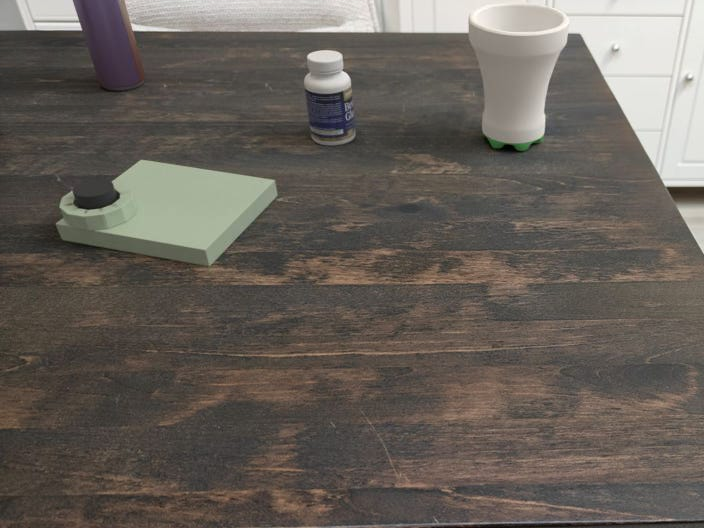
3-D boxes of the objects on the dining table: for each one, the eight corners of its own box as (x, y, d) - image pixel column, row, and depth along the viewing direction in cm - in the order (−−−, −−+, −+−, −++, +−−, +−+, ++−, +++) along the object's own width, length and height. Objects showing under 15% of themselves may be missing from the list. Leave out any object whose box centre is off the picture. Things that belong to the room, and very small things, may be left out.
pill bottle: (357, 145, 89) (349, 63, 82) (311, 148, 88) (299, 65, 82) (355, 126, 93) (347, 46, 86) (311, 129, 92) (300, 48, 86)
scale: (58, 241, 72) (44, 209, 70) (144, 174, 83) (134, 145, 80) (208, 268, 69) (199, 236, 67) (277, 196, 80) (272, 165, 77)
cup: (477, 115, 96) (479, -2, 87) (563, 124, 94) (574, 6, 85) (458, 154, 88) (458, 29, 78) (551, 164, 86) (562, 38, 77)
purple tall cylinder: (127, 94, 99) (90, -29, 89) (90, 88, 100) (50, -34, 90) (155, 79, 103) (123, -41, 93) (120, 73, 105) (84, -46, 95)
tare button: (69, 208, 71) (63, 193, 70) (93, 190, 74) (88, 175, 72) (102, 213, 70) (97, 198, 69) (125, 195, 73) (120, 181, 72)
